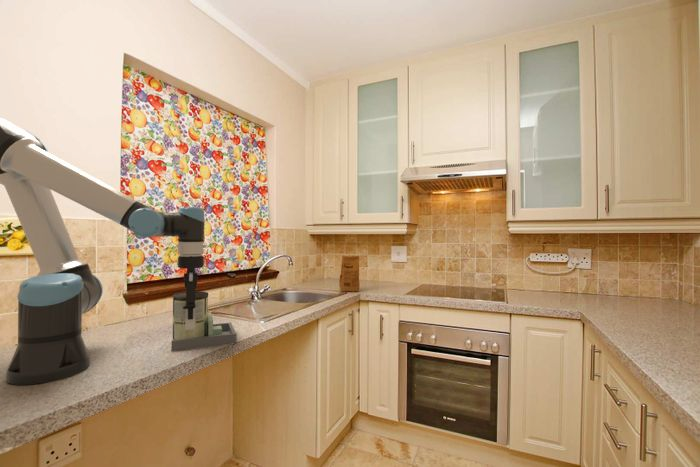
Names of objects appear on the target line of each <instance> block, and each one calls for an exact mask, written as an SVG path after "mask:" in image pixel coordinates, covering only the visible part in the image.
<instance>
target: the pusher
mask: <svg viewBox="0 0 700 467" xmlns="http://www.w3.org/2000/svg"><path fill="white" fill-rule="evenodd" d="M213 324H214V319H213V315H212V312H211V311H208V330H207V333H208V334H207V335H208V336H213V335H222V327H221V326H213Z"/></svg>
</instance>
